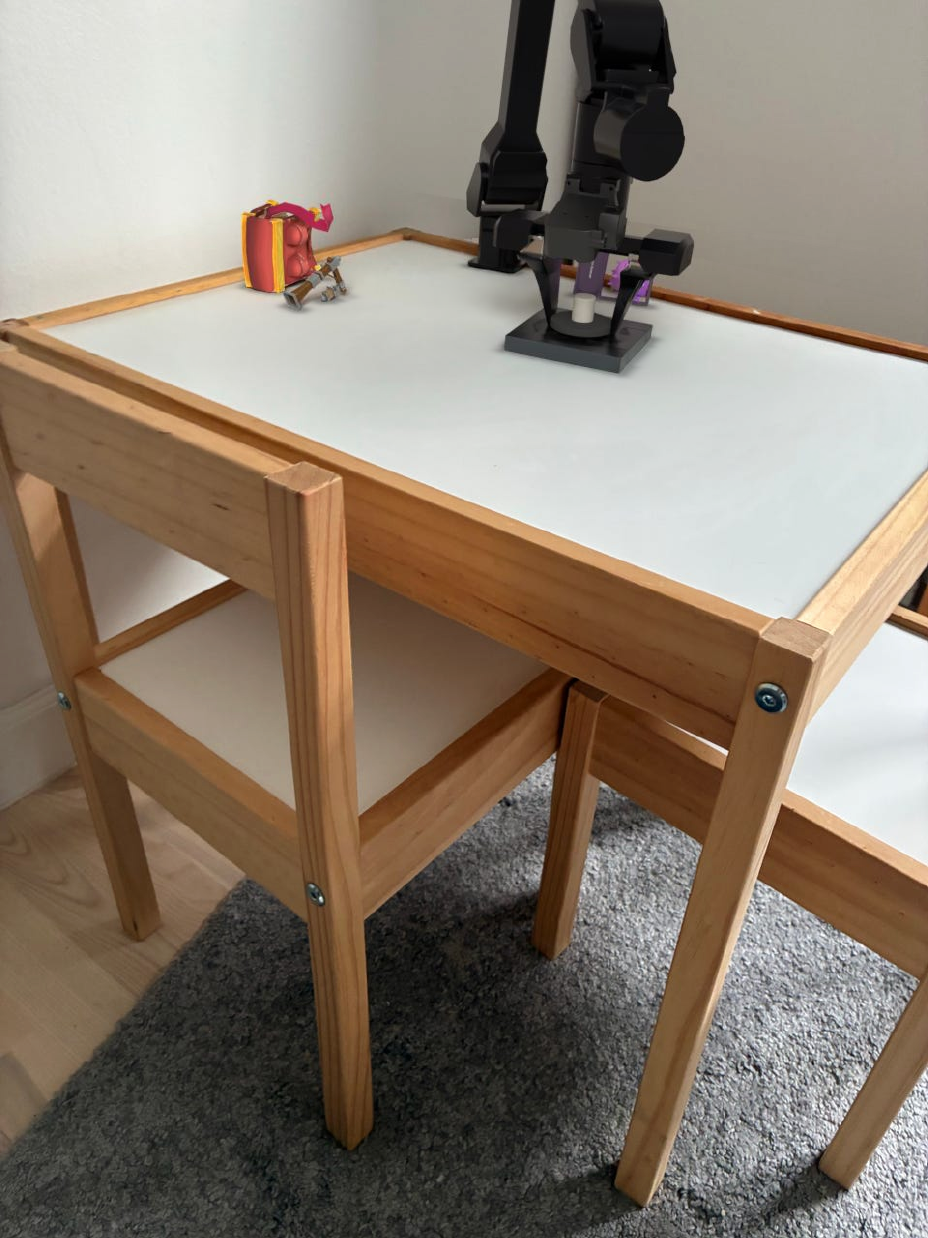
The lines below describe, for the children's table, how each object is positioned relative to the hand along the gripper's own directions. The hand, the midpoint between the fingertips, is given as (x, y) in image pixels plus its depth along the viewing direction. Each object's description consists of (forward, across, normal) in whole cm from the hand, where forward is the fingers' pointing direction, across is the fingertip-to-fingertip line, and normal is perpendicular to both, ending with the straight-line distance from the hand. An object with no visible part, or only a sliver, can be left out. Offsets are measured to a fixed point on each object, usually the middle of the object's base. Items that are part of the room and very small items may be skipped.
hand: (581, 329), depth 92 cm
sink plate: (+2, 0, 0) cm, 2 cm away
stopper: (+1, 0, 0) cm, 1 cm away
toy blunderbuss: (+2, -30, -3) cm, 30 cm away
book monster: (+2, -35, +1) cm, 35 cm away
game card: (+2, -2, +19) cm, 19 cm away
